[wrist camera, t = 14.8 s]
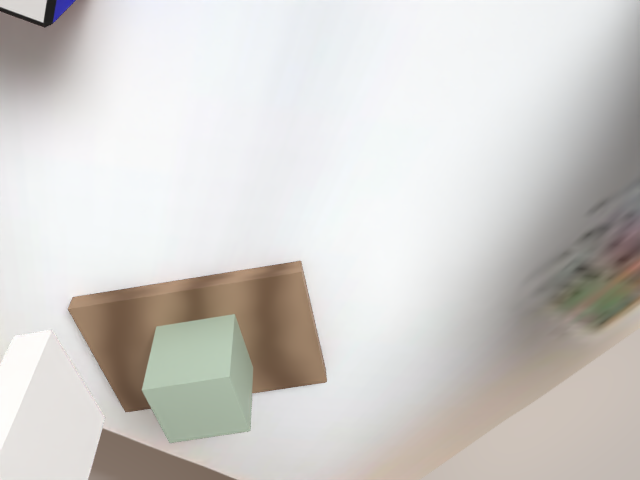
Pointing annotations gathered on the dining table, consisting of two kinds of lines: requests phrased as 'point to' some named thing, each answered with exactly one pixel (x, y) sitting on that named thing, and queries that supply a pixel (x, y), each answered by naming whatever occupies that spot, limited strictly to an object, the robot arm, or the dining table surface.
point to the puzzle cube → (36, 10)
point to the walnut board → (201, 303)
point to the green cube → (200, 379)
